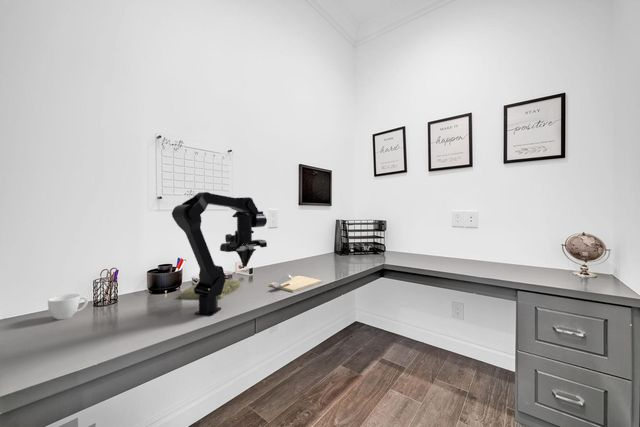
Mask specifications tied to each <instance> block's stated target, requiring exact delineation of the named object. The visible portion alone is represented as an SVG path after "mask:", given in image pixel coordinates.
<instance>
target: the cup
mask: <svg viewBox="0 0 640 427" xmlns="http://www.w3.org/2000/svg"><path fill="white" fill-rule="evenodd" d="M83 299H84V304H82V306H81V307H80V308H79V305H80V302H81V300H83ZM88 304H89V300H88V297H87V296H80V294H79V293H70V294H69V293H68V294H67V293H66V294H63V295H62V294H61V295H56V296H54V297H51V298H49V299H47V307H48V311H49V314H50V315H51V317H53V318H54V319H55V320H56V321H57V320H59V321H60V320H67V319H70V318H72V317H73V316H74V315H75V313H79V312H81V311H82V310H84V309H85V308H86V307H87V305H88Z"/></svg>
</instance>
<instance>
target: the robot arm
mask: <svg viewBox="0 0 640 427" xmlns="http://www.w3.org/2000/svg"><path fill="white" fill-rule="evenodd" d="M208 205H213V206H218V207H224V208H225V207H226V208H230V209H232V211H235V213H233V215H232V218H236V230H235V232H234V235H233V234H232V233H230V234H229V233H228V234H225V236H224V238H225V243H224V242H222V243H221V244H220V246H219V251H221V252H226V253H233V252H236V253H237V255H238V256H239V259H240V260H241V264H242V266H243V267H244V268H245V267H247V266H248V263H249V262H250V259H251V257H252V256H253V254H254V252H255V251H257V248H255V247H260V248H267V247H268V244H267V241H266V240H265V239H253V236H252V235H253V234H254V232H255V231H254V230H253V228H263V227H265V226H266V225H267V221H268V219H267V216H266V215H265V213H264V211H259V209H258V207H257V205H256V204H255V202H254V199H253V198H252V197H249V196H248V197H231V196H227V195H222V194H215V193H210V192H208V191H205V192H203V191H201V192H198V193H196V194H195V195H194V196H192V197H191V198H189V199H188V200H186V201H184V202H183V203H181V204H178V205H176V206H174V208H173V209H172V212H171V217H172V219H173V220H174V222H175V223H176V224H177V225H176V226H178V227H179V228H180V229H181V230H182V231H183V232H184V233H185V235H186V238H187V240H188V243H189V245H190V248H191V250H192V252H193V254H194V258H195V260H196V262H197V266H198V267H199V274H198V278H199V281H198V282H197V283H196V284H197V285H196V284H195V285H196V287H195V288H194V292H195V294H198V295H200V296H199V299H198V310H197V311H196V312H194V314H195V315H200V316H201V315H202V316H213V315H215V314H216V313H218V312H219V311H221V310H222V306H221V307H220V306H219V307H218V303H219V302H218V300H219V299H218V295H221V294H222V290H223V287H224V283H225V281H226V280H227V279H226V276H227V275H226V274H225V272H224V268H223V266H222V265H216V264H215V262H214V260H213V257H212V255H211V251H210V249H209V247H208V245H207V242H206V239H205V237H204V233H203V232H202V228H201V225H202V216H201V215H202V214H203V213H204V212H205V211H206V209H207V207H208ZM208 288H209V289H210V290H208Z"/></svg>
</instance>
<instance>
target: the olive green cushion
mask: <svg viewBox="0 0 640 427" xmlns="http://www.w3.org/2000/svg"><path fill="white" fill-rule="evenodd" d="M225 280H226V281H225V283H224V287H223V290H222V294H221V295H218V300H222V299H223V298H224V297H225V296H227V295H229V294H232V293H234V292H235V291H237V290H238V289H239V288H241V287H242V283H241V281H240V280H229V279H225ZM197 284H198V283H196V284H194V285H192V286H190V287H189V288H187V289H184V290H183V291H182V292H181V293H180V299H186V300H187V299H189V300H191V299H193V300H199V296H200V295H198V294H195V292H194V288H195V287H196V285H197ZM208 290H210V289H209V288H208Z"/></svg>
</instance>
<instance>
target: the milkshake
mask: <svg viewBox="0 0 640 427" xmlns="http://www.w3.org/2000/svg"><path fill="white" fill-rule="evenodd" d="M292 277H293V276H292V275H290V274H288V273H287V274H285V275H284V276H282V277H280V278H279V279H278V278H277V280H275V281H274V286H275V287H274V288H276V289H280V287H283V286H285V285H288V284H291V283H292Z"/></svg>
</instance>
